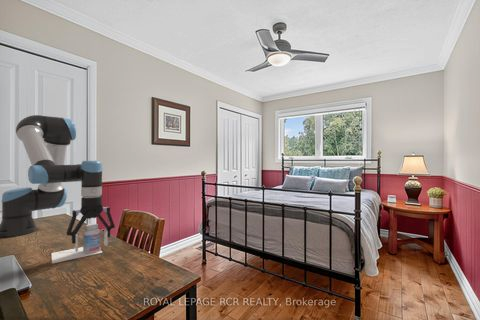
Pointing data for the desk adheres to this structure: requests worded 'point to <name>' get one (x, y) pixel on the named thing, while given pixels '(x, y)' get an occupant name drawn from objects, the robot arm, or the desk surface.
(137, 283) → the desk surface
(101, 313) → the desk surface
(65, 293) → the desk surface
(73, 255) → the paper
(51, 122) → the robot arm
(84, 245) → the pill bottle
